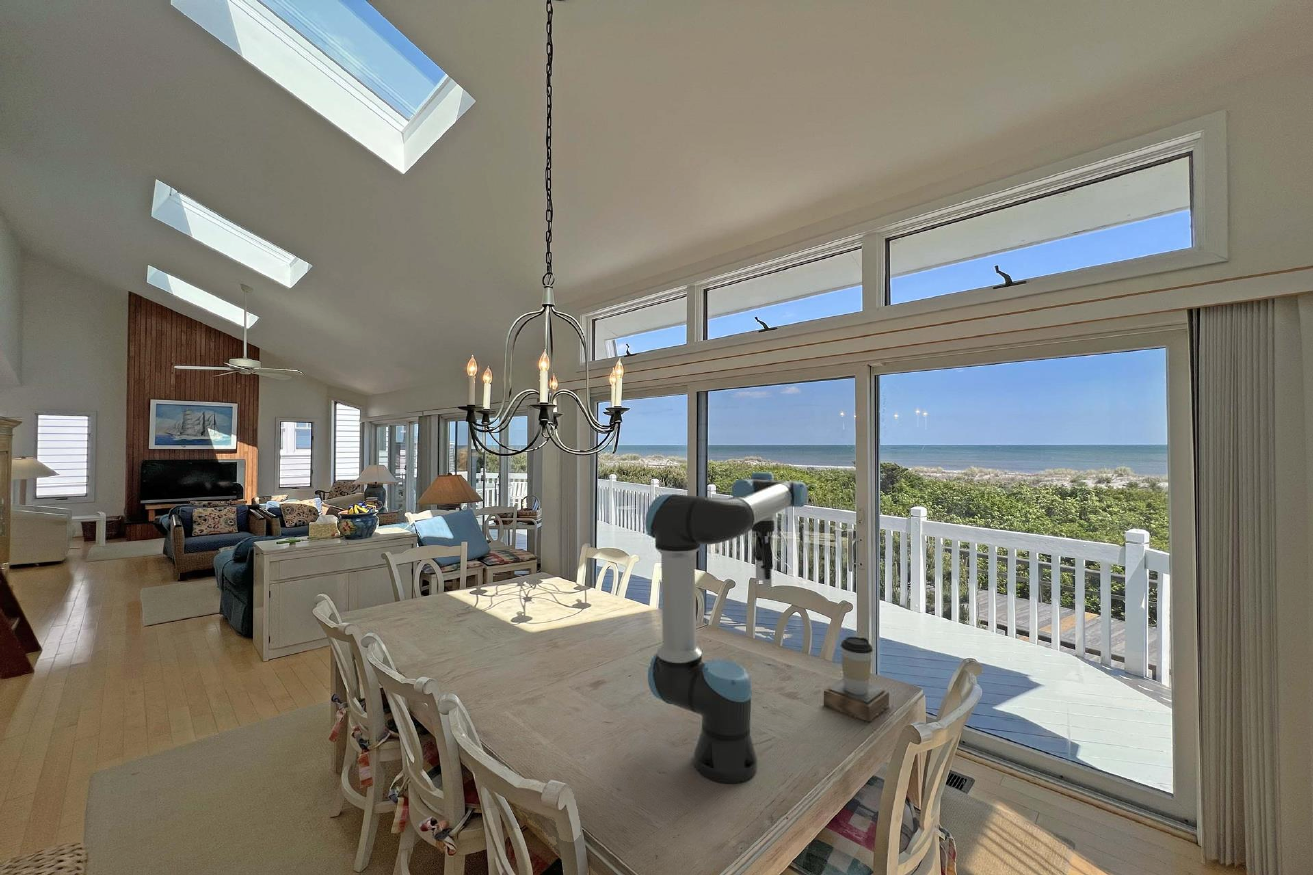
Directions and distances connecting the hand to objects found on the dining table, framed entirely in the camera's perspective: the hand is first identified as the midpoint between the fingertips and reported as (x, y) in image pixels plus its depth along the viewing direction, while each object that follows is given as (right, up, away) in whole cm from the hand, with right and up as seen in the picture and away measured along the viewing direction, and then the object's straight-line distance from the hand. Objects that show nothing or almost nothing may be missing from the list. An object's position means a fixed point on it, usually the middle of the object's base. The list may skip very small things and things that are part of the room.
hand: (763, 584), depth 174 cm
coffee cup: (+26, -28, -13) cm, 40 cm away
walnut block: (+26, -33, -13) cm, 44 cm away
